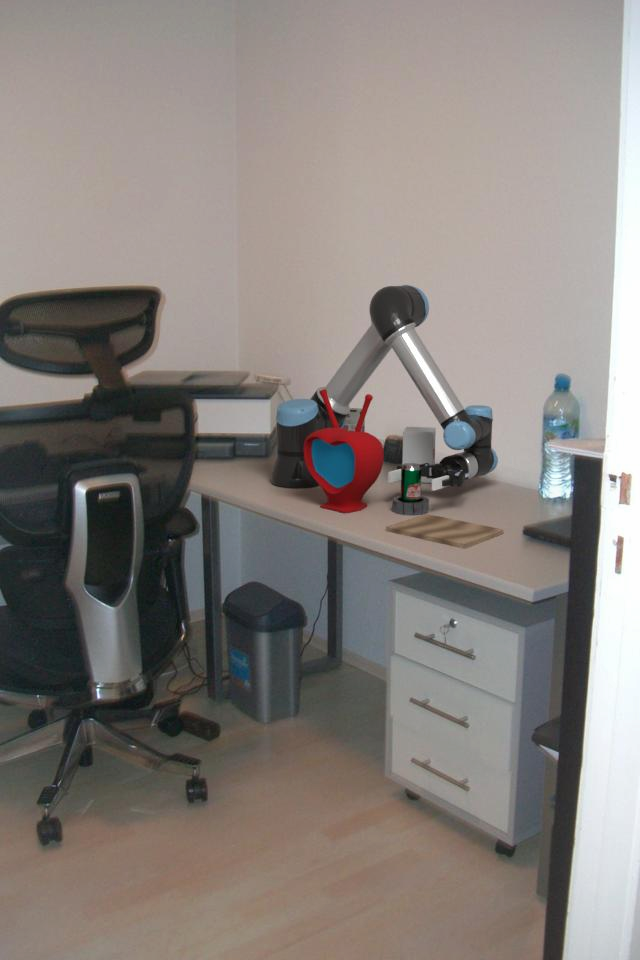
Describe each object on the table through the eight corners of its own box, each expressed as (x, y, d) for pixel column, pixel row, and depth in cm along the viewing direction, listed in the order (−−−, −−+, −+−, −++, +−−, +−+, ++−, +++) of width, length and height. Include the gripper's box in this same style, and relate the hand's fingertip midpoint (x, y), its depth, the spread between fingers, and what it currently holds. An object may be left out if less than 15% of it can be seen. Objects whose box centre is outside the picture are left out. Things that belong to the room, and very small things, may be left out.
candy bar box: (365, 458, 309) (365, 408, 306) (361, 461, 305) (361, 410, 301) (332, 456, 312) (332, 406, 309) (327, 459, 308) (327, 409, 304)
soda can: (407, 514, 239) (408, 467, 236) (396, 509, 243) (397, 463, 241) (424, 511, 241) (425, 465, 238) (413, 507, 245) (414, 461, 243)
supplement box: (432, 483, 272) (433, 432, 269) (401, 482, 274) (402, 431, 271) (435, 477, 281) (436, 427, 278) (405, 475, 283) (405, 426, 280)
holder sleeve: (385, 511, 242) (385, 499, 241) (406, 504, 248) (406, 493, 248) (414, 517, 236) (414, 505, 235) (435, 510, 242) (435, 498, 242)
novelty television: (299, 504, 249) (298, 390, 242) (333, 496, 258) (333, 385, 251) (358, 518, 234) (359, 397, 228) (392, 509, 243) (393, 392, 237)
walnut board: (386, 530, 224) (386, 526, 224) (425, 517, 235) (426, 513, 235) (465, 548, 209) (465, 544, 209) (503, 533, 221) (503, 529, 221)
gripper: (497, 488, 248) (451, 503, 232) (419, 475, 264) (371, 488, 248) (498, 460, 246) (452, 473, 231) (419, 448, 262) (372, 460, 247)
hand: (410, 481), depth 240 cm, fingers open, 13 cm apart
